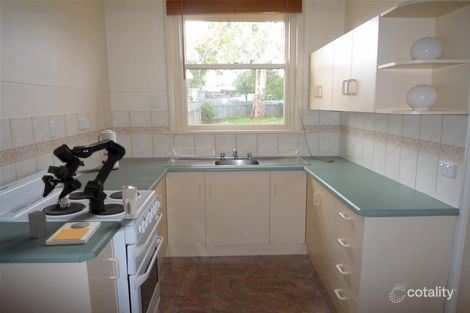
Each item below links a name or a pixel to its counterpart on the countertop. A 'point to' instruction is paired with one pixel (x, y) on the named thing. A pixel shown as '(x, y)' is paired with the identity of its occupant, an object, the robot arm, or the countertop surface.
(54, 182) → the robot arm
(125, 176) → the countertop surface
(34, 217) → the chute block
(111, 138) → the blender
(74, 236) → the white plate with inlay
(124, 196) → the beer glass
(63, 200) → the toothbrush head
